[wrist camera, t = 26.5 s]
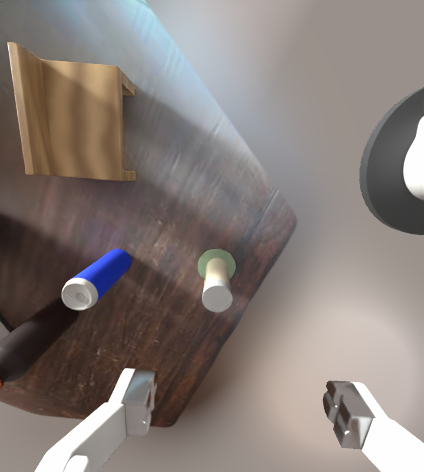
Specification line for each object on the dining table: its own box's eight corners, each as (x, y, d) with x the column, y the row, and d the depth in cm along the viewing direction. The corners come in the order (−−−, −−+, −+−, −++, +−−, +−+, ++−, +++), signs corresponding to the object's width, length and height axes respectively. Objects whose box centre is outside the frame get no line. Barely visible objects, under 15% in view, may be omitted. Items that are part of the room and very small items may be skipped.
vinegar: (43, 302, 50) (-66, 383, 30) (69, 293, 49) (-27, 369, 30) (60, 326, 51) (-34, 417, 32) (84, 317, 50) (3, 405, 31)
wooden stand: (134, 85, 38) (103, 50, 27) (135, 180, 42) (109, 181, 31) (65, 79, 38) (7, 41, 27) (73, 175, 42) (25, 174, 31)
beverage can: (103, 260, 47) (52, 298, 32) (116, 243, 45) (70, 274, 31) (123, 275, 47) (82, 318, 33) (137, 258, 46) (101, 295, 32)
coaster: (221, 240, 45) (221, 241, 44) (242, 270, 47) (242, 271, 46) (190, 261, 46) (190, 262, 46) (212, 289, 48) (212, 290, 47)
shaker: (219, 253, 45) (221, 279, 33) (232, 270, 46) (238, 302, 34) (201, 265, 46) (196, 295, 34) (214, 282, 47) (213, 317, 35)
